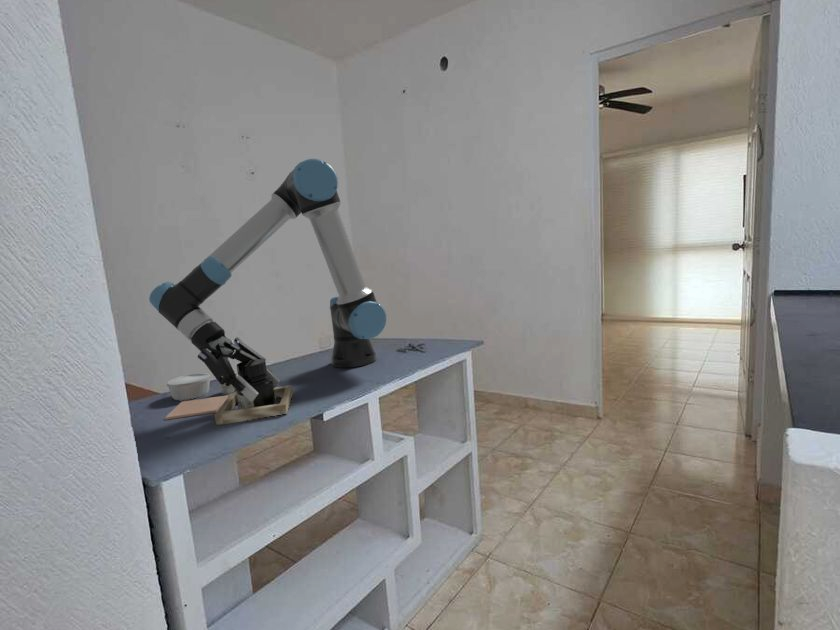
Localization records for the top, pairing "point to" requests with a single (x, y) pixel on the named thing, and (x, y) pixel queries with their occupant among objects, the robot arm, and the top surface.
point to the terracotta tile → (197, 407)
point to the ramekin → (189, 386)
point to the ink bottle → (255, 384)
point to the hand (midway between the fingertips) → (266, 391)
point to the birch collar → (232, 416)
